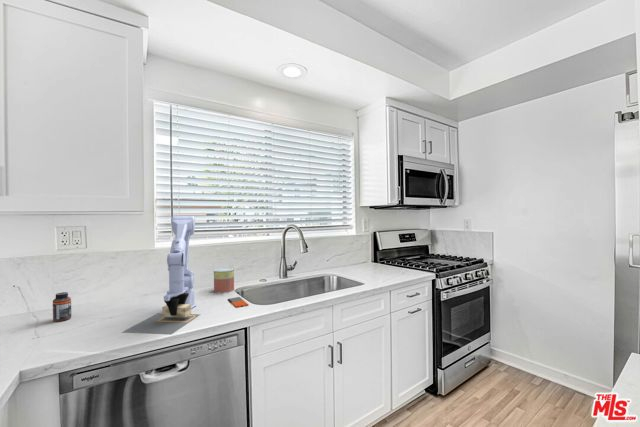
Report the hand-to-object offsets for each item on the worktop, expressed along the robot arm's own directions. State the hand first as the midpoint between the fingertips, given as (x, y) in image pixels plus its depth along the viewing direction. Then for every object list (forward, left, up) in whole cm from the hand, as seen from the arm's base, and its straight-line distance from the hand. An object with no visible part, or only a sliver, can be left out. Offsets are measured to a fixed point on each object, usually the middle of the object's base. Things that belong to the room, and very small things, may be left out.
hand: (177, 313), depth 125 cm
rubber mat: (+5, -3, -3) cm, 6 cm away
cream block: (0, 0, -1) cm, 1 cm away
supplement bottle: (+4, -50, -3) cm, 50 cm away
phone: (-25, +16, -4) cm, 30 cm away
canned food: (-47, -1, -3) cm, 47 cm away
